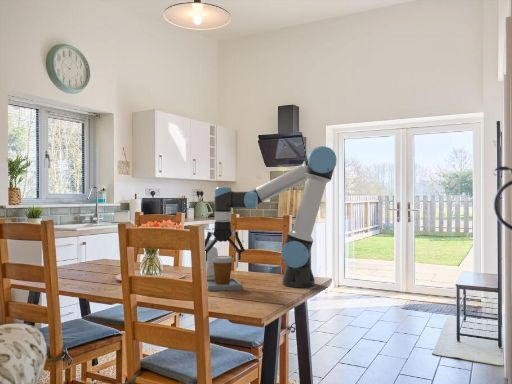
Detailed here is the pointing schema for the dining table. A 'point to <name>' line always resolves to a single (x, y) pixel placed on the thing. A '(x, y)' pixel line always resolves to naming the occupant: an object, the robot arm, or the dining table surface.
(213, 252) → the grater
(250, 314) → the dining table surface
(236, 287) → the grey square tray
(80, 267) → the dining table surface
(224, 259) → the disposable coffee cup
